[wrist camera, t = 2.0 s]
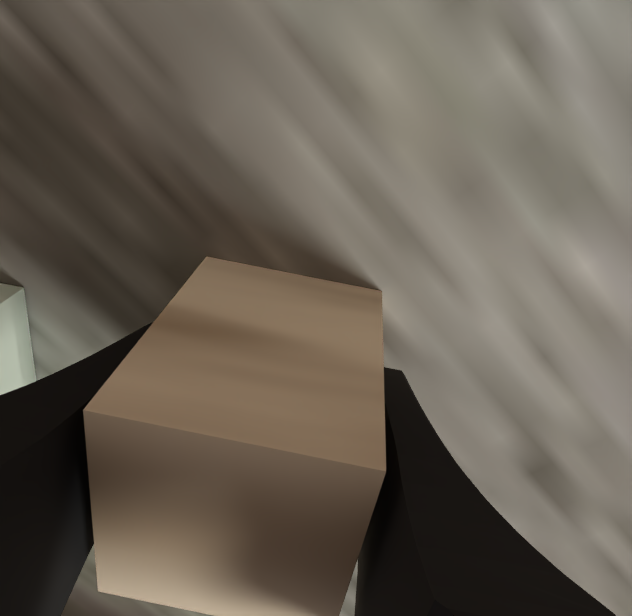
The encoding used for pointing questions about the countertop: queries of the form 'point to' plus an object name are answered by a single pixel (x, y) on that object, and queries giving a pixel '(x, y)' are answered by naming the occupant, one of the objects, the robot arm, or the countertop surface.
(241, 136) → the countertop surface
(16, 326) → the tray
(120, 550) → the maple block
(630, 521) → the countertop surface
